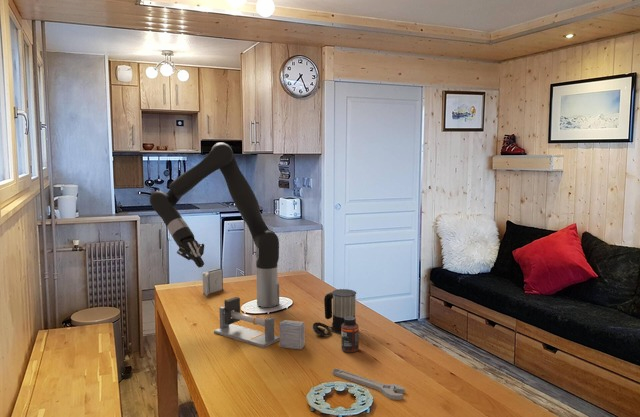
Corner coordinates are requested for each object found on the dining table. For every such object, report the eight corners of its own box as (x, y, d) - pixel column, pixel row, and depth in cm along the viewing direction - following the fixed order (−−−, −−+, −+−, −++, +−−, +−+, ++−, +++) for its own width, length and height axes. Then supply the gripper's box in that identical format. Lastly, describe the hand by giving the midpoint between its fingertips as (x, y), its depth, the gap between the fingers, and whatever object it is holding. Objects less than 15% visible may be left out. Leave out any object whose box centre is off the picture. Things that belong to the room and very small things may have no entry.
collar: (225, 323, 190) (224, 300, 189) (236, 319, 195) (236, 296, 194) (228, 324, 189) (228, 301, 188) (240, 320, 194) (239, 297, 193)
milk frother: (359, 327, 197) (360, 290, 195) (344, 341, 183) (344, 301, 181) (326, 322, 203) (326, 286, 201) (308, 335, 189) (308, 296, 187)
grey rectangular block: (206, 296, 239) (205, 275, 238) (197, 295, 242) (196, 274, 240) (224, 289, 252) (223, 269, 250) (215, 287, 254) (214, 268, 253)
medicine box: (305, 345, 180) (305, 321, 179) (300, 350, 176) (300, 325, 175) (284, 342, 182) (284, 319, 181) (279, 347, 178) (279, 323, 177)
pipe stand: (213, 332, 192) (213, 309, 191) (231, 325, 200) (230, 303, 198) (263, 347, 178) (263, 322, 177) (280, 339, 185) (279, 315, 184)
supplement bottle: (358, 346, 178) (359, 315, 177) (358, 353, 173) (358, 321, 171) (341, 346, 179) (341, 314, 178) (340, 352, 173) (340, 320, 172)
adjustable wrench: (330, 375, 157) (330, 369, 157) (343, 369, 162) (343, 363, 162) (397, 402, 140) (397, 396, 140) (410, 394, 145) (410, 388, 144)
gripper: (171, 228, 198) (192, 263, 192) (197, 224, 209) (219, 257, 203) (162, 240, 202) (183, 275, 196) (189, 235, 212) (210, 268, 207)
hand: (201, 266), depth 199 cm, fingers closed
